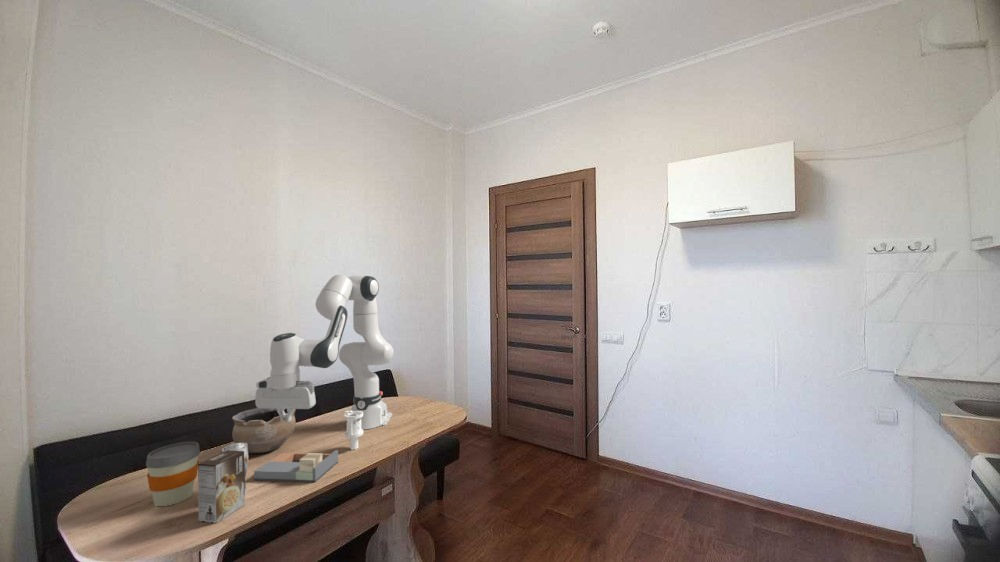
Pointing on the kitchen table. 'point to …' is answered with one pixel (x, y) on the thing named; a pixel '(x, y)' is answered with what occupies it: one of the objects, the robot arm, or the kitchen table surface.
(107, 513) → the kitchen table surface
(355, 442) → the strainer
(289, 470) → the board
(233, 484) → the coffee box
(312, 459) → the birch block
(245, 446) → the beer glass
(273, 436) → the ceramic bowl
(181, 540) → the kitchen table surface
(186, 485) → the reusable coffee cup
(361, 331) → the robot arm
